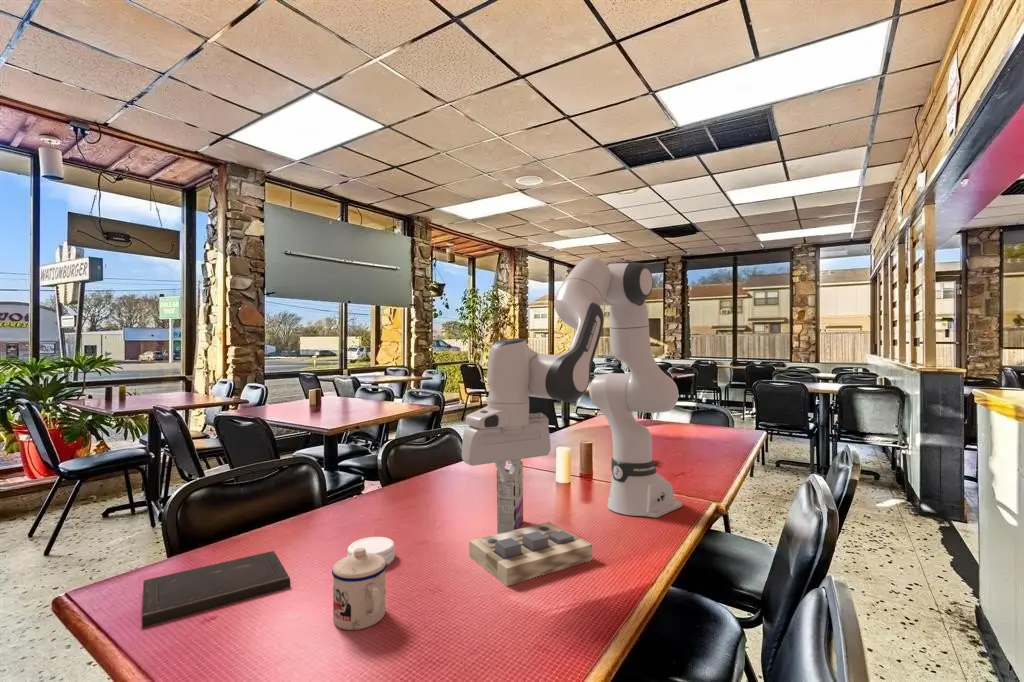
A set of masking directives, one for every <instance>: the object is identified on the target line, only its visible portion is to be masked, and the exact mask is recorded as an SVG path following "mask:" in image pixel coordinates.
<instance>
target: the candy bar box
mask: <svg viewBox="0 0 1024 682" xmlns="http://www.w3.org/2000/svg"><path fill="white" fill-rule="evenodd" d="M511 465H512V463H510V461H506V466H503V467H504V469H505V471H506V472H508V471H509V470H510V467H511ZM523 467H524V466H523V459H521V465H520V467H519V469H518V471H517V473H516V480H515V481H511V482H505V483H503V482H501V481H500V473H499V471H498V469H497V468H496V498H497V499H496V504H497V506H496V508H497V509H496V510H497V511H496V512H497V515H496V516H497V519H496V520H497V534H500V533H504V532H508V531H513V530H517V529H520V527H521V525H522V523H523V521H524V490H523V489H524V481H523V479H524V475H523V474H524V471H523Z"/></svg>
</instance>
